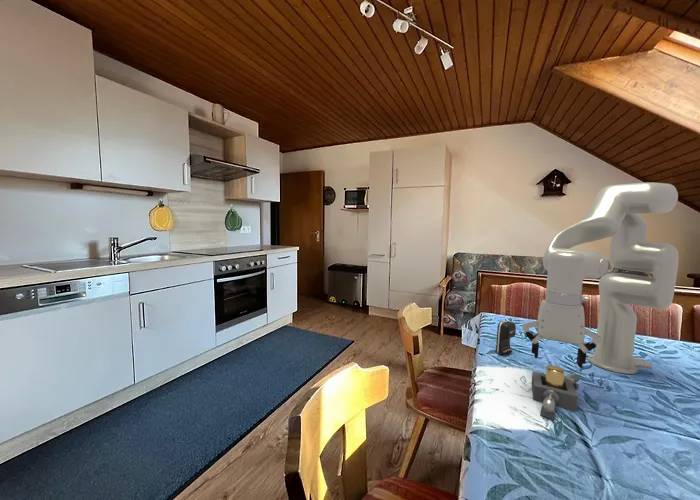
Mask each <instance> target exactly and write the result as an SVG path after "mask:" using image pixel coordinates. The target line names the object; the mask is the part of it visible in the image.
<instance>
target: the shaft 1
mask: <svg viewBox="0 0 700 500" xmlns="http://www.w3.org/2000/svg"><path fill="white" fill-rule="evenodd" d="M542 398H543V400H544V401H543V403H542V405H541V407H540V412H539V413H540V414H539V415H540V417H542V418H545V419H548V420H551V421H555V417H556V412H555V408H556V406H555V405H557V404H558V403H559V400H560V397H559V395H558V393H557V392H555V391H554V390H551V389H546V390H544V391H543V394H542Z"/></svg>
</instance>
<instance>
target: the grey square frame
mask: <svg viewBox="0 0 700 500" xmlns="http://www.w3.org/2000/svg"><path fill="white" fill-rule="evenodd" d="M531 374H532V375H531V382H530V383H531V394H532V395H531V396H532V400H533V401H535V402H537V403H538V402H539V403H542V404H543V401H544V400H543V398H542V394H543V391H544V390H546V389H551V390H554V391H555V392H557V393H558V395H559V397H560V400H559V403H558V404H557V405H555V408H560V409H563V410H567V411H571V412H575V413H577V409H578V400H579V396H578V393H577V391H576V390H575V387H574V385H573V382H572V380H565V379H564V383H563V390H562V389H558V388H554V387H550V386H546V385H545V378H546V373H542V372H538V371H532V373H531Z"/></svg>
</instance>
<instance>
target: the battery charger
mask: <svg viewBox="0 0 700 500" xmlns="http://www.w3.org/2000/svg"><path fill="white" fill-rule="evenodd" d="M496 330H497V331H496V344H495V353H497V354H499V355H504V356H506V355H508V354H510V353H512V352H513V349H512V347H511V344H510V343H511V338H514V337H516V330H517V325H516V323H514V322H513V321H510V320H503V321H500V322H499V323H498V325H497V329H496Z"/></svg>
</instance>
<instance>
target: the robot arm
mask: <svg viewBox="0 0 700 500" xmlns="http://www.w3.org/2000/svg"><path fill="white" fill-rule="evenodd" d="M678 199H679V193H678V190H677V188H676V187H675V186H674V185H673V184H671V183H665V182H653V181H652V182H649V181H648V182H637V183H636V182H634V183H624V184H623V183H622V184H613V185H607V186H605V187H603V188H601V189H600V190H599V191H598V192H597V194H595V197H594V199H593V200H592V202H591V204H590V205H589V207H588V210H587V212H586V214H585V215H584V217H583V218H582V220H579V221H577V222H576V223H572V225H570V226H568V227H566V228H564V229H563V230H561V231H560V232H558V233H557V234H556V235H555V236H554V237H553V238H552V240H551V241H550V242H549V245H548V247H546V250H545V252H544V255H543V257H542V266H543V269H544V270H546V272H547V276H546V277H547V278H546V289H545V299H543V300H541V302H540V305H539V308H538V309H539V311H538V315H537V319H536V320H533V321H529V322H524V323H522V325H521V327H522V330H523V332H524V334H525V336H526V337H527V338H528V339H529V340H530V342H531V354H534V359H538V358H539V348H540V345H539V344H540V343H539V342H540V341H542V340H543V339H544V340H548V341H553V342H560V343H566V344H571V345H577V347H578V349H577V357H576V364H577V367H578V368H581V369H582V368H583V365H585V364H586V362H587V361H586V360H587V359H588V361H589V363H591V364H593V365H595V366H597V367H599V368H601V369H604V370H607V371H611V372H615V373H617V374H618V373H619V374H624V375H634V374H636V373H638V370H639V369H638V368H639V367H641V368H645V369H649V370H652V369H653V363H652V362H648V361H644V359H641V358H636V357H634V347H635V340H636V339H635V338H636V334H637V333H636V332H637V325H638V317H637V314H636V312H635V311H634V310H633V308H632V307H631V305H634V306H639V307H643V308H644V307H645V308H650V309H653V310H654V309H655V310H667V309H668V308H669V307H670V306H671V304H672V302H673V299H674V295H675V290H676V289H675V288H676V284H677V283H676V282H677V278H678V277H677V275H678V269H679V261H680V259H679V258H680V257H679V251H678V249H677V248H676V247H675V246H674V245H672V244H671V243H666V242H665V243H664V242H654V241H653V242H649V241H647V238H648V237H647V236H648V232H649V226H648V224H647V222H646V221H645V219H644V218H642V216H640V214H667V213H669V212H671V211H673V209H674V208H675V207H676V205H677V204H678ZM607 238H608V239H609V238H610V245H609V251H608V259H607V257H606V256H605V254H603V253H601V252H598V251H595V250H585V249H575V246H579V245H581V244H582V245H583V244H587V243H590V242H596V241H599V240H603V239H607ZM573 248H574V249H573ZM609 265H610V266H611V267H613V268H616V269H620V270H625V271H631V272H633V271H634V272H642V273H650V274H652V277H651V276H643V275H636V274H629V273H620V272H608V273H607V271H608V270H609ZM584 279H585V280H596V279H599V281H598V292H599V312H598V320H597V329H596V332H593V331H591V330H589V329H588V328H586V319H585V318H586V317H585V309H584V306H583V303H589V297H588V296H585V295H583V294H582V291H583V282H584ZM531 328H536V333H535V334H533V333H532V332H531V330H530V329H531ZM585 335H586V336H587V337H589V338H591V340H590V341H589V342H587V343H584V342H585ZM592 350H594V353H590V354H588V353H589V352H591V351H592ZM587 354H588V355H587Z"/></svg>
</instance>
